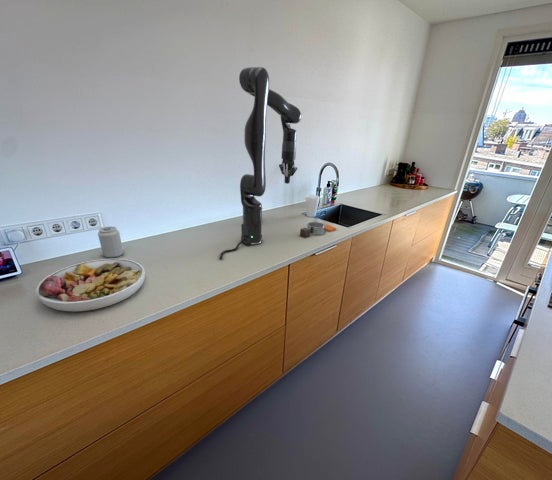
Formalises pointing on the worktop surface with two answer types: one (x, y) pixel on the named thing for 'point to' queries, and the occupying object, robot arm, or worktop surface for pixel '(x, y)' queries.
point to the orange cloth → (329, 228)
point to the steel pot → (316, 228)
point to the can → (110, 242)
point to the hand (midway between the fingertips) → (287, 183)
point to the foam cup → (311, 205)
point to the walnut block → (305, 232)
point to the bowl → (91, 284)
